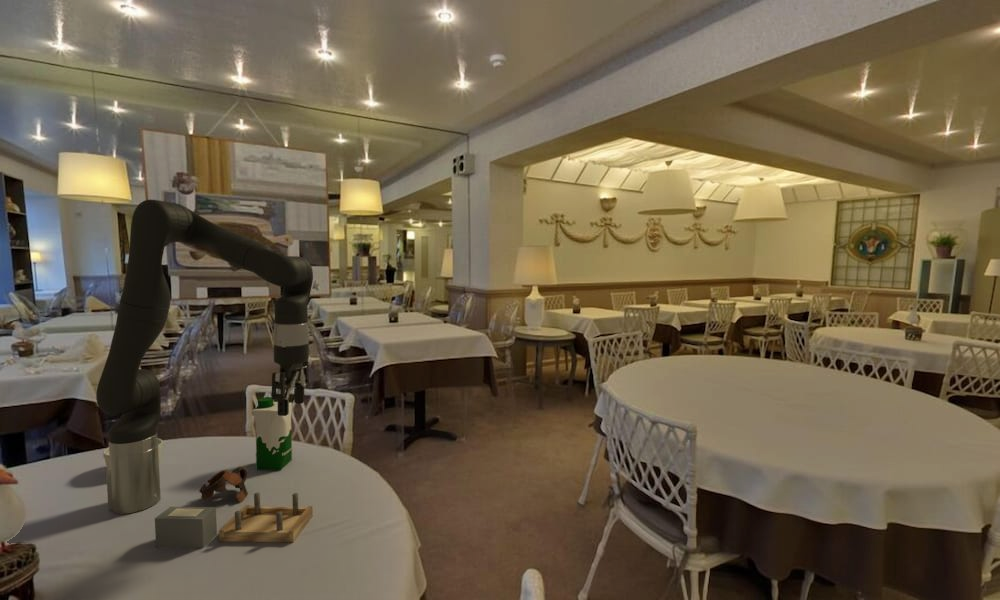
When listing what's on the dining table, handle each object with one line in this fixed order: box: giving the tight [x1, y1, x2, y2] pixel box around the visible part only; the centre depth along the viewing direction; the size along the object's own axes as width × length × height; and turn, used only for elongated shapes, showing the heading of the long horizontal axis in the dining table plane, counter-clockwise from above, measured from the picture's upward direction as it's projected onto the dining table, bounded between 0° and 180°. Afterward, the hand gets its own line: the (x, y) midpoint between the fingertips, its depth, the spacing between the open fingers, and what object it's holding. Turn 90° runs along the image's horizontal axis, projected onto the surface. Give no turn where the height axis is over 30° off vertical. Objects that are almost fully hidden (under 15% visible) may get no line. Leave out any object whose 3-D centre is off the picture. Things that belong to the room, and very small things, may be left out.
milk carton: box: [252, 396, 293, 471], centre depth 132 cm, size 9×9×20 cm
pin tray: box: [218, 491, 313, 543], centre depth 102 cm, size 16×10×6 cm, turn 90°
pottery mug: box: [198, 466, 249, 504], centre depth 115 cm, size 12×10×8 cm
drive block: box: [154, 506, 218, 549], centre depth 97 cm, size 10×4×7 cm, turn 90°
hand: (291, 408), depth 106 cm, fingers open, 8 cm apart
